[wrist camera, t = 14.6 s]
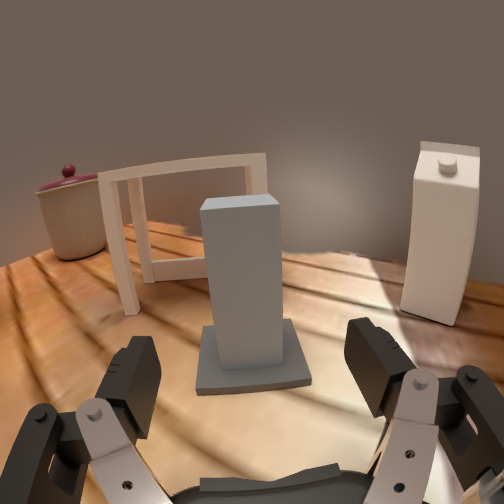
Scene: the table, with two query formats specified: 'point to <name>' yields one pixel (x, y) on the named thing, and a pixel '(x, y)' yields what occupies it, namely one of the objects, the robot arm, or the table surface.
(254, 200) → the blank
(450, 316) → the milk carton
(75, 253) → the canister
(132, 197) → the rack
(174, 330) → the table surface
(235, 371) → the mat
